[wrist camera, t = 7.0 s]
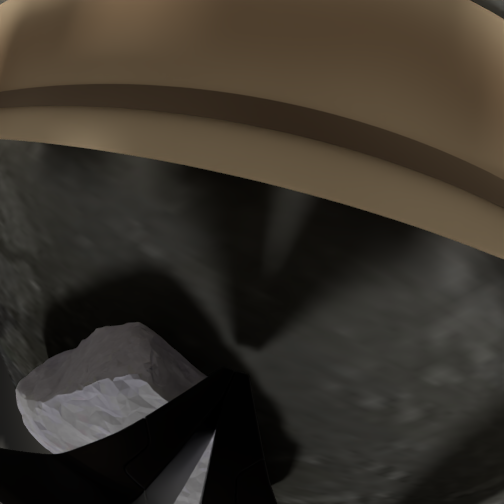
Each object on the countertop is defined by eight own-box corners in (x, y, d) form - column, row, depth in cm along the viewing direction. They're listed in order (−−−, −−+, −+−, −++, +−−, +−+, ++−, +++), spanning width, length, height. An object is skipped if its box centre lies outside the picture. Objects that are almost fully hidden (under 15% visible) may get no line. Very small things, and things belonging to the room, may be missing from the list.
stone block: (173, 276, 12) (36, 358, 13) (125, 337, 7) (-13, 407, 9) (306, 454, 14) (166, 489, 16) (316, 525, 10) (151, 545, 11)
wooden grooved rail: (588, 288, 6) (645, 338, 2) (-12, 130, 9) (-80, 140, 6) (619, 167, 4) (684, 187, 1) (9, 28, 8) (-57, 20, 4)
